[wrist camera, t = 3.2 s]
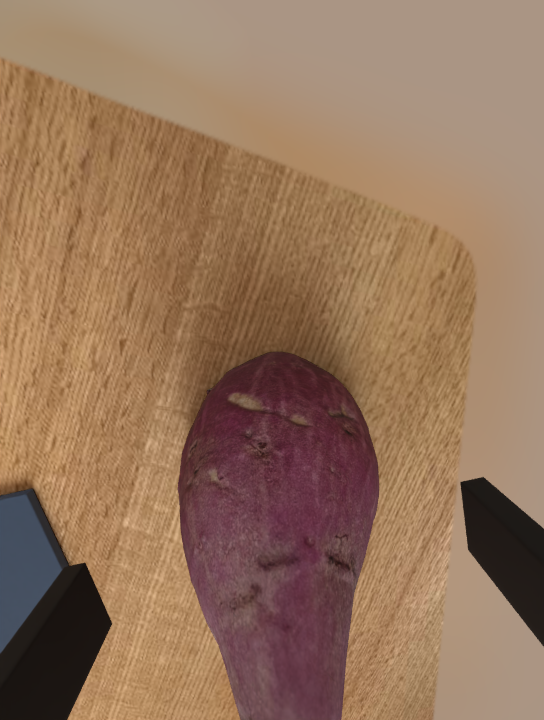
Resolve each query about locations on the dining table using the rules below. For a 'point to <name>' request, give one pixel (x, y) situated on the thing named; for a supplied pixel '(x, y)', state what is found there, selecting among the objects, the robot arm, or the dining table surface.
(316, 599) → the vegetable
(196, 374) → the dining table surface
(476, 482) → the robot arm
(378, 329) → the dining table surface
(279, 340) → the dining table surface
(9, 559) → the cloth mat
